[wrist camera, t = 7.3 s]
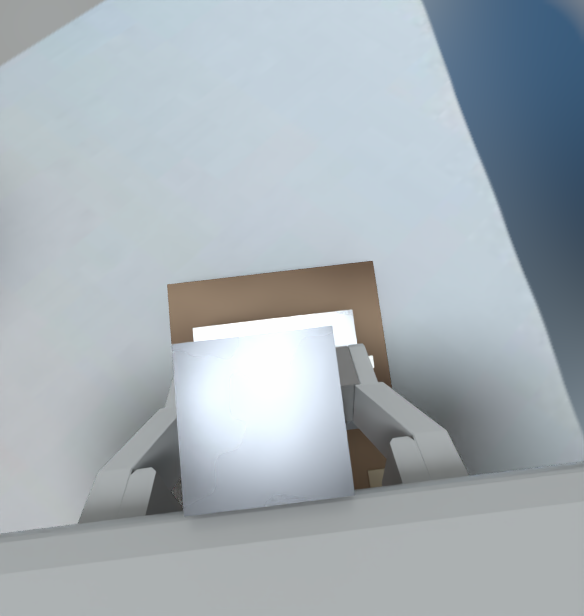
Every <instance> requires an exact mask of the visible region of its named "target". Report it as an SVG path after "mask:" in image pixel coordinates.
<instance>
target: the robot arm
mask: <svg viewBox="0 0 584 616" xmlns="http://www.w3.org/2000/svg"><path fill="white" fill-rule="evenodd" d="M335 349H336V356H337V364H338V371H339V379H340V386H341V394H342V401H343V409H344V416H345V422H347V421H353V423H354V424H355V425H356V426H357V427H358V428H359V429H360V430H361V431H362V432H363V434H364V435H365V436H366V437H367V438H368V439H369V440H370V441H371V442H372V443H373V444H374V446H375V447H376V448H377V449H378V450H379V451H380V452H381V453H382V454H383V455H384V457H385V458H386V459H387V460H386V464H385V469H384V474H383V479H382V486H381V487H373V488H365V489H357V490H354V492H355V496H347V497H339V498H331V499H323V500H315V501H307V502H299V503H291V504H283V505H275V506H266V507H258V508H250V509H242V510H234V511H226V512H218V513H210V514H202V515H194V516H186V517H184V511H183V508H182V506H181V505H180V504H179V502H178V501H177V500H176V498H175V497H174V495H173V494H172V493H171V490H172V489H173V487H174V486H175V484H176V483H177V481H178V480H179V478H180V477H181V469H180V455H179V441H178V427H177V413H176V400H175V386H174V375H173V379H172V382H171V386H170V390H169V393H168V397H167V401H166V404H165V408H160V409H159V410H158V411H157V412H156V413H155V414H154V415H153V416H152V417H151V418H150V419H149V420H148V421H147V422H146V423H145V424H144V425H143V426H142V427H141V428H140V429H139V430H138V431H137V433H136V434H135V435H134V436H133V437H132V438H131V439H130V440H129V441H128V442H127V443H126V444H125V445H124V446H123V447H122V448H121V449H120V450H119V451H118V452H117V453H116V454H115V455H114V456H113V457H112V458H111V459H110V460H109V461H108V462H107V463H106V464H105V466H104V467H103V468H102V469H101V470H100V471H99V472H98V473H97V476H96V478H95V481H94V483H93V486H92V489H91V491H90V494H89V496H88V499H87V501H86V504H85V506H84V509H83V511H82V514H81V517H80V519H79V522H78V524H73V525H65V526H57V527H49V528H41V529H33V530H25V531H17V532H9V533H1V534H0V616H584V461H583V462H575V463H567V464H559V465H551V466H543V467H535V468H527V469H519V470H511V471H503V472H494V473H486V474H478V475H470V476H469V474H468V472H467V470H466V468H465V466H464V464H463V462H462V460H461V458H460V456H459V454H458V452H457V450H456V448H455V446H454V444H453V442H452V440H451V438H450V436H449V434H448V432H447V430H445V429H444V428H443V427H441V426H440V425H439V424H437V423H436V422H435V421H434V420H432V419H431V418H430V417H428V416H427V415H426V414H424V413H423V412H422V411H420V410H419V409H418V408H416V407H415V406H414V405H413V404H411V403H410V402H409V401H407V400H406V399H405V398H403V397H402V396H401V395H399V394H398V393H397V392H395V391H394V390H393V389H392V388H390V387H389V386H388V385H386V384H385V383H384V382H378V381H377V378H376V375H375V373H374V370H373V367H372V365H371V362H370V359H369V357H368V354H367V351H366V348H365V346H364V345H363V344H362V343H361V344H354V345H345V346H338V347H335Z"/></svg>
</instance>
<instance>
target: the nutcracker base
mask: <svg viewBox="0 0 584 616" xmlns="http://www.w3.org/2000/svg"><path fill="white" fill-rule="evenodd" d="M167 288H168V302H169V316H170V329H171V343H172V344H178V343H186V342H194V338H193V328H198V327H207V326H215V325H224V324H232V323H241V322H249V321H258V320H266V319H275V318H283V317H292V316H301V315H309V314H318V313H326V312H335V311H343V310H352V311H353V318H354V325H355V332H356V339H357V344H361V343H362V344H363V345H364V346H365V348H366V351H367V354H368V356H370V355H371V356H373V361H374V368H373V370H374V373H375V375H376V378H377V381H378V382H384V383H385V384H386V385H388V386H389V387H390V388H392V385H391V378H390V372H389V365H388V359H387V352H386V345H385V339H384V332H383V326H382V319H381V312H380V306H379V299H378V293H377V286H376V280H375V273H374V266H373V261H367V262H358V263H349V264H341V265H332V266H324V267H315V268H306V269H298V270H289V271H280V272H272V273H263V274H254V275H246V276H237V277H229V278H220V279H211V280H203V281H194V282H185V283H177V284H168V285H167ZM346 431H347V439H348V447H349V454H350V462H351V469H352V477H353V484H354V490H357V489H365V488H373V487H381V486H382V479H383V474H384V469H385V464H386V460H387V459H386V458H385V457H384V455H383V454H382V453H381V452H380V451H379V450H378V449H377V448H376V447H375V446H374V444H373V443H372V442H371V441H370V440H369V439H368V438H367V437H366V436H365V435H364V434H363V432H362V431H361V430H360V429H350V430H346Z"/></svg>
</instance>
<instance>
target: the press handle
mask: <svg viewBox="0 0 584 616" xmlns="http://www.w3.org/2000/svg"><path fill="white" fill-rule="evenodd" d="M193 338H194V342H186V343H178V344H172V358H173V372H174V386H175V400H176V413H177V427H178V441H179V455H180V469H181V482H182V496H183V510H184V517H186V516H194V515H202V514H210V513H218V512H226V511H234V510H242V509H250V508H258V507H266V506H275V505H283V504H291V503H299V502H307V501H315V500H323V499H331V498H339V497H347V496H355V492H354V484H353V477H352V469H351V462H350V454H349V447H348V439H347V431H346V430H350V429H359V428H358V427H357V426H356V425H355V424H354V423H353V421H347V422H345V416H344V409H343V401H342V394H341V386H340V379H339V371H338V364H337V356H336V349H335V347H338V346H345V345H354V344H357V339H356V332H355V325H354V318H353V311H352V310H343V311H335V312H326V313H318V314H309V315H301V316H292V317H283V318H275V319H266V320H258V321H249V322H241V323H232V324H224V325H215V326H207V327H198V328H193ZM368 357H369V359H370V362H371V365H372V367H373V368H374V361H373V356H371V355H370V356H368Z"/></svg>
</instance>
